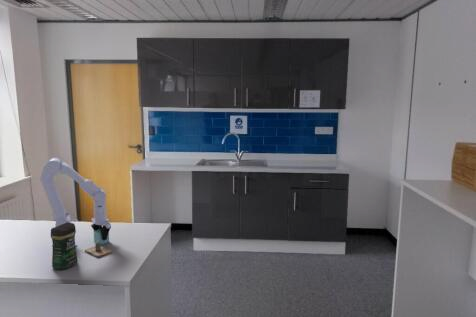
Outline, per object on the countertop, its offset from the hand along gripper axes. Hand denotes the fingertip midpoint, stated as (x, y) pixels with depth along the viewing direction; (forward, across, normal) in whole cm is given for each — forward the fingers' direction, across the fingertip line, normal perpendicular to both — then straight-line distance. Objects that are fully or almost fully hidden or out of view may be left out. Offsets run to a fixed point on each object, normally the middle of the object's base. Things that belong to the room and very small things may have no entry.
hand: (101, 238), depth 167 cm
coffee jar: (+2, -11, +24) cm, 26 cm away
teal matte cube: (+2, 0, 0) cm, 2 cm away
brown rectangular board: (+2, -10, +8) cm, 13 cm away
